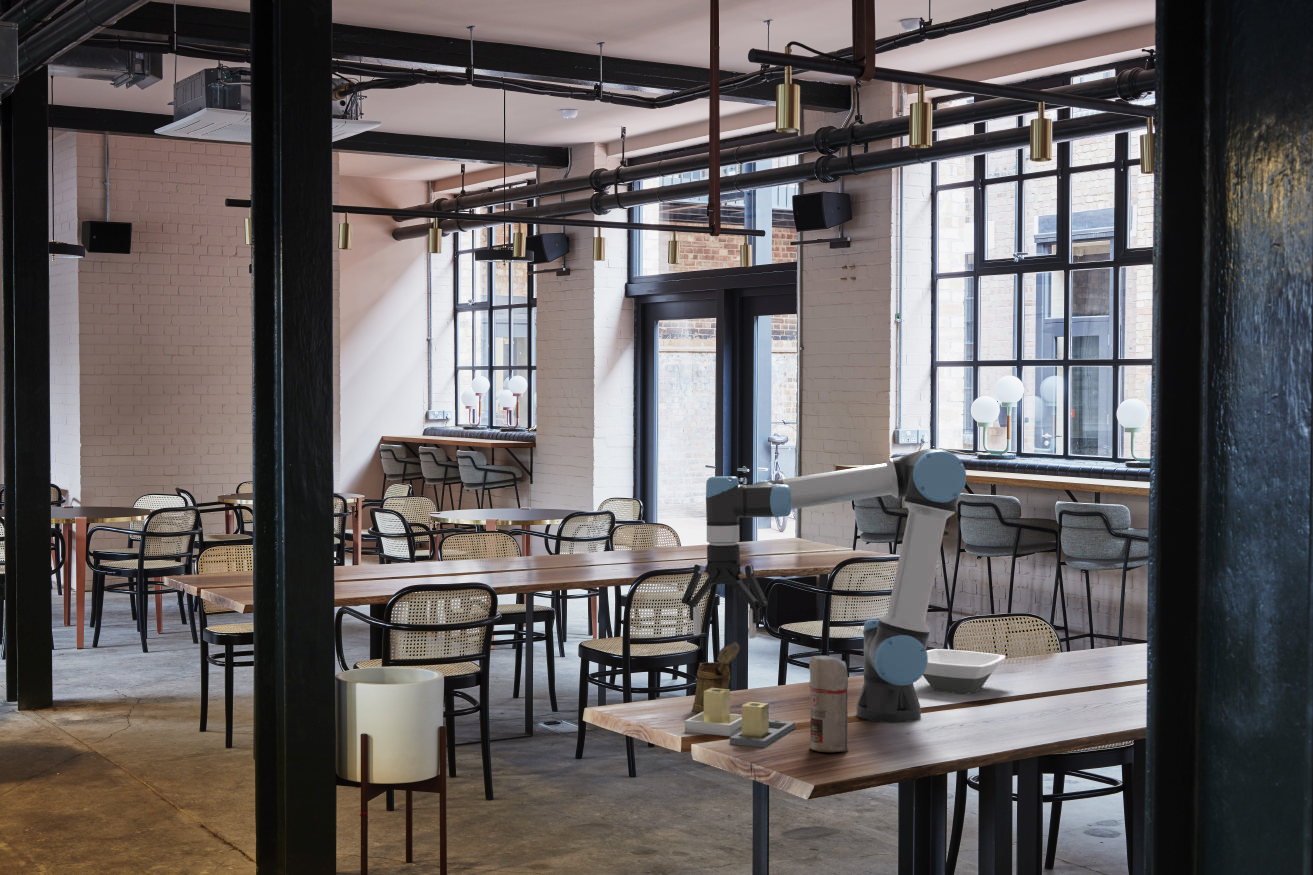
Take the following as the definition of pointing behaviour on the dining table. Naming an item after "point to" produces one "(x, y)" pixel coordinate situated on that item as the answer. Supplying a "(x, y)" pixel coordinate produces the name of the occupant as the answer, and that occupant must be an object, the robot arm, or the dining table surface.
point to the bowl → (960, 669)
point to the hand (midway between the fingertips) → (724, 636)
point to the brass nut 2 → (755, 720)
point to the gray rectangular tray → (774, 734)
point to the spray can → (828, 704)
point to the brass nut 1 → (717, 705)
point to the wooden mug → (714, 674)
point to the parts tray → (713, 725)
